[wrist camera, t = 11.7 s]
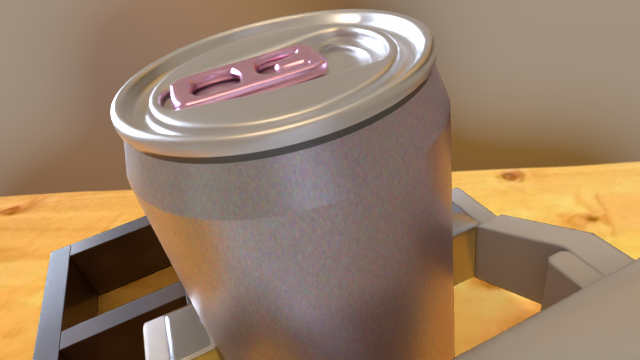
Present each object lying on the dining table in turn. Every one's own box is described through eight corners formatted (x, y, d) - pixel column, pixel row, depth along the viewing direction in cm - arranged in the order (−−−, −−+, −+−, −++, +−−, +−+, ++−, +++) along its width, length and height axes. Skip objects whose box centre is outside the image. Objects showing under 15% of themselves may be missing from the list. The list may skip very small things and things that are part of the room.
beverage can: (273, 413, 18) (108, 59, 10) (405, 355, 19) (359, -10, 11) (321, 597, 13) (72, 208, 5) (494, 506, 14) (539, 53, 6)
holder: (59, 571, 21) (1, 537, 18) (79, 291, 36) (50, 252, 34) (269, 457, 23) (244, 413, 20) (203, 240, 38) (185, 200, 36)
